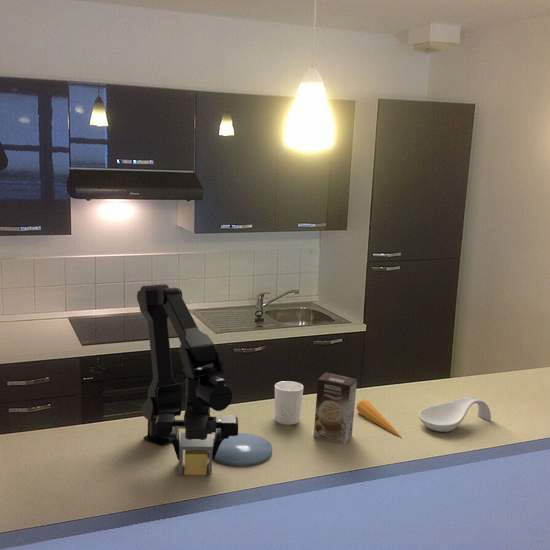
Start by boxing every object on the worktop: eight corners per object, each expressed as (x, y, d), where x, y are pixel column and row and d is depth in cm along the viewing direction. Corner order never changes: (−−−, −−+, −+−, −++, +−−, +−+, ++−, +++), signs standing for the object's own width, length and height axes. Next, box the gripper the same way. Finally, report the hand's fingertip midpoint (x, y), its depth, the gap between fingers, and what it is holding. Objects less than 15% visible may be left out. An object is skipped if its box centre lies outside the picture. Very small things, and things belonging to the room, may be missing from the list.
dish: (194, 454, 165) (194, 449, 164) (230, 432, 178) (231, 427, 178) (249, 472, 157) (249, 467, 157) (283, 448, 170) (284, 443, 170)
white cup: (298, 427, 183) (300, 392, 182) (270, 423, 185) (272, 389, 183) (303, 416, 191) (305, 382, 189) (276, 413, 192) (277, 379, 191)
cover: (180, 459, 160) (181, 432, 159) (211, 459, 161) (212, 433, 160) (178, 474, 153) (179, 446, 152) (211, 474, 154) (212, 446, 152)
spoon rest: (438, 440, 180) (441, 414, 179) (408, 424, 190) (411, 399, 189) (500, 425, 192) (502, 401, 191) (469, 411, 202) (471, 388, 201)
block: (185, 464, 159) (185, 444, 158) (206, 464, 160) (207, 444, 159) (184, 474, 154) (184, 454, 153) (206, 474, 155) (207, 454, 154)
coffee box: (312, 436, 178) (316, 378, 175) (321, 428, 184) (324, 371, 181) (345, 444, 174) (349, 385, 171) (353, 435, 180) (357, 378, 177)
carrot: (355, 414, 197) (352, 402, 195) (368, 407, 198) (365, 395, 196) (397, 449, 180) (394, 435, 178) (410, 440, 181) (407, 427, 179)
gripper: (153, 408, 145) (151, 476, 148) (240, 410, 147) (237, 476, 150) (157, 389, 156) (156, 453, 159) (238, 391, 158) (236, 454, 160)
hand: (195, 459), depth 157 cm, fingers closed on cover, 7 cm apart
